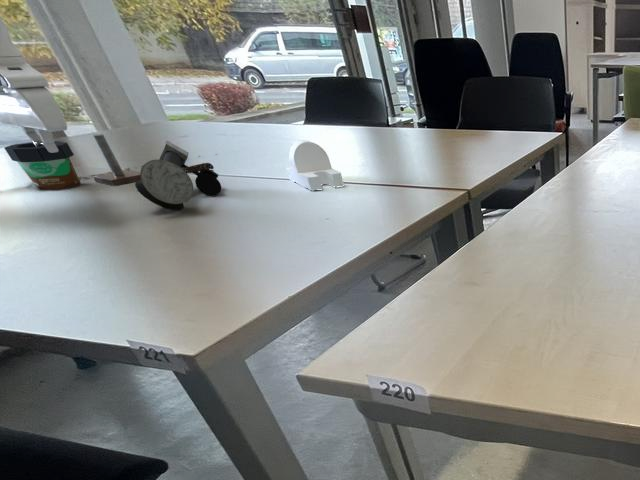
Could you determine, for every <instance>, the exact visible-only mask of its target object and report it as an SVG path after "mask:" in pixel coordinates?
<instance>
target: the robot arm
mask: <svg viewBox="0 0 640 480" xmlns="http://www.w3.org/2000/svg"><path fill="white" fill-rule="evenodd" d="M49 86H50V83H49V82H48V80H47V78H46V76H45V75H44V74H43V73H42V72H40V71H38V70H37V69H35V68H34V67H32V65H30V63H27V61H26V60H25V58H24V56H23V55H22V53H21V51H20V50H19V49H18V48H17V47H16V45H15V44H14V42H12V39H11V37H10V34H9V31H8V28H7V25H6V24H5V22H4V20H3V19H2V17H1V16H0V123H2V124H5V125H12V126H17V127H20V129H21V131H22V132H23V133H24V134H25V135H26V136H27V137H28V138H29V140H31V142H33V143H34V144H35V146H36V147H44V149H45V151H47V152H50V153H54V152H58V148H57V147H56V145H55V143H54V141H55V138H54V134H53V133H54V132H64V131H67V130H68V125H67V124H68V123H67V121H66V119H65V117H64V114H63V112H62V111H61V108H60V106H59V104H58V102H57V100H56V99H55V97H54V95H53V94H52V92H51V91H50V89H48V88H47V87H49Z"/></svg>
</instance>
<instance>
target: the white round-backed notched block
mask: <svg viewBox="0 0 640 480" xmlns="http://www.w3.org/2000/svg"><path fill="white" fill-rule="evenodd" d="M288 156H289V157H288V158H289V163H290V164H291V165H286V166H285V169H286V172H287V175H288V178H289V181H290V180H291V181H290V182H292V181H293V182H292V183H294V182H296V183H298V184H300V185H302V186H304V187H306V188H308V189H310V190H317V189H323V186H322V185H321V184H330V185H332V186H335V187H337V186H343V185H344V186H345V183H344V180H343V177H342V176H343V175H342V172H341V171H339V170H336V169H334V168H332V165H331V161H330V158H329V155H328V154H327V152H326V151H325V149H324V148H323V147H322V146H320V145H319V144H318V143H315V142H312V141H311V140H307V139H302V140H297V141H295V142H294V143H293V144H292V145H291V147H290V149H289V152H288ZM296 183H295V184H296ZM298 184H297V185H298ZM300 185H299V186H300ZM302 186H301V187H302ZM332 186H331V187H332ZM304 187H303V188H304ZM306 188H305V189H306ZM308 189H307V190H308ZM310 190H309V191H310Z"/></svg>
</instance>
